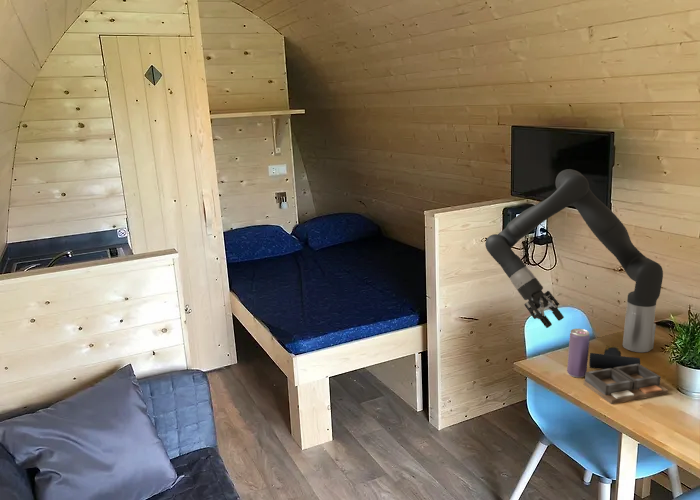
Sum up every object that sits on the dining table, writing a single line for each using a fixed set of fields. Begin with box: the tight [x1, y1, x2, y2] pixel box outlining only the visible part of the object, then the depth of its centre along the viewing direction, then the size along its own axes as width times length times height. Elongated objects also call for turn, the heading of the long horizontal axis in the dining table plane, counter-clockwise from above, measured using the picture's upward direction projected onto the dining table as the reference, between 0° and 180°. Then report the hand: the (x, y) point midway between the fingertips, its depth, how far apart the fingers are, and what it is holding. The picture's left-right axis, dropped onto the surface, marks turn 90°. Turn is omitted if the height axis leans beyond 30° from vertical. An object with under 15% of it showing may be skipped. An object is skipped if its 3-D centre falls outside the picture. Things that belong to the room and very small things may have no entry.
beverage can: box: [566, 328, 591, 379], centre depth 191 cm, size 6×6×15 cm
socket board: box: [583, 363, 669, 405], centre depth 182 cm, size 20×13×4 cm, turn 105°
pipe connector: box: [588, 345, 641, 370], centre depth 198 cm, size 12×5×15 cm
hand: (555, 322), depth 194 cm, fingers open, 8 cm apart
